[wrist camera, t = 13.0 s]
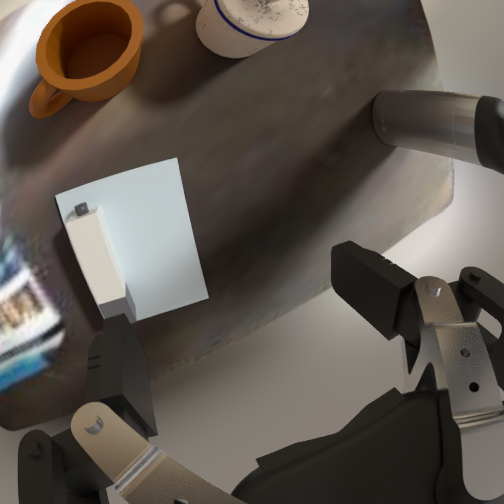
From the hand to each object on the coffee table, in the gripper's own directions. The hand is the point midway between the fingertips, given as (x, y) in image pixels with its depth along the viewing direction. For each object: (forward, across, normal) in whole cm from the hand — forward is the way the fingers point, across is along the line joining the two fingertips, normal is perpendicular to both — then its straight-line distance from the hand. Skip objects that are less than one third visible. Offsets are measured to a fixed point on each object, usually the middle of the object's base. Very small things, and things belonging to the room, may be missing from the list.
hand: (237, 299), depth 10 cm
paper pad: (+23, +6, +6) cm, 24 cm away
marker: (+22, +10, +6) cm, 25 cm away
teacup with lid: (+24, -9, -19) cm, 31 cm away
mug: (+23, +7, -15) cm, 28 cm away
